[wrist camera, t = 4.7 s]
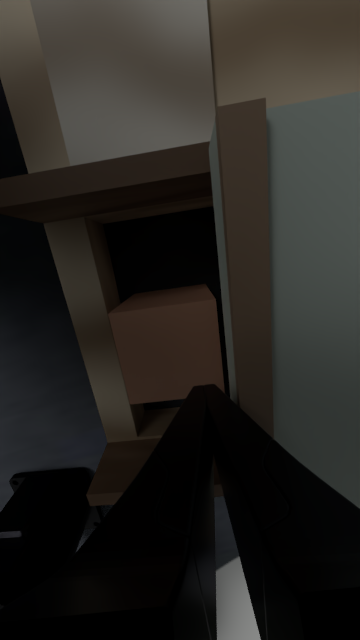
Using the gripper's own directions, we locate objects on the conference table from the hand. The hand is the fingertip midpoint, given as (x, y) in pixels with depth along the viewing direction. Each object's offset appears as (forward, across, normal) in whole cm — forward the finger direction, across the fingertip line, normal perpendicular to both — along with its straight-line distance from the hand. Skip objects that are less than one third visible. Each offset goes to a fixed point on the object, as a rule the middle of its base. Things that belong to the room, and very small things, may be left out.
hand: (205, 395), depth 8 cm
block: (+7, +1, -1) cm, 7 cm away
